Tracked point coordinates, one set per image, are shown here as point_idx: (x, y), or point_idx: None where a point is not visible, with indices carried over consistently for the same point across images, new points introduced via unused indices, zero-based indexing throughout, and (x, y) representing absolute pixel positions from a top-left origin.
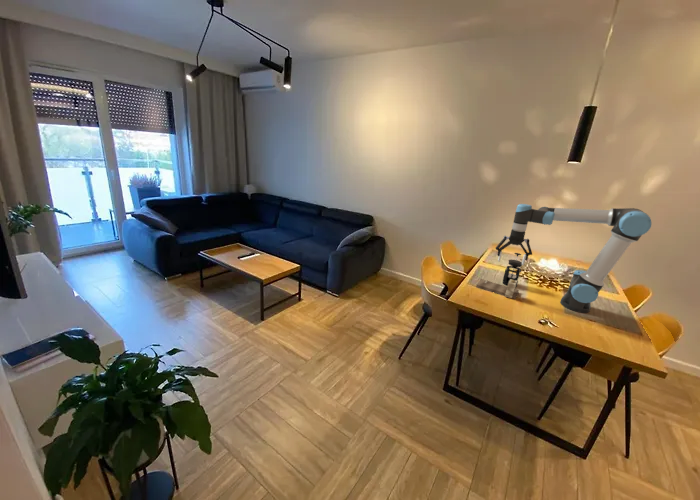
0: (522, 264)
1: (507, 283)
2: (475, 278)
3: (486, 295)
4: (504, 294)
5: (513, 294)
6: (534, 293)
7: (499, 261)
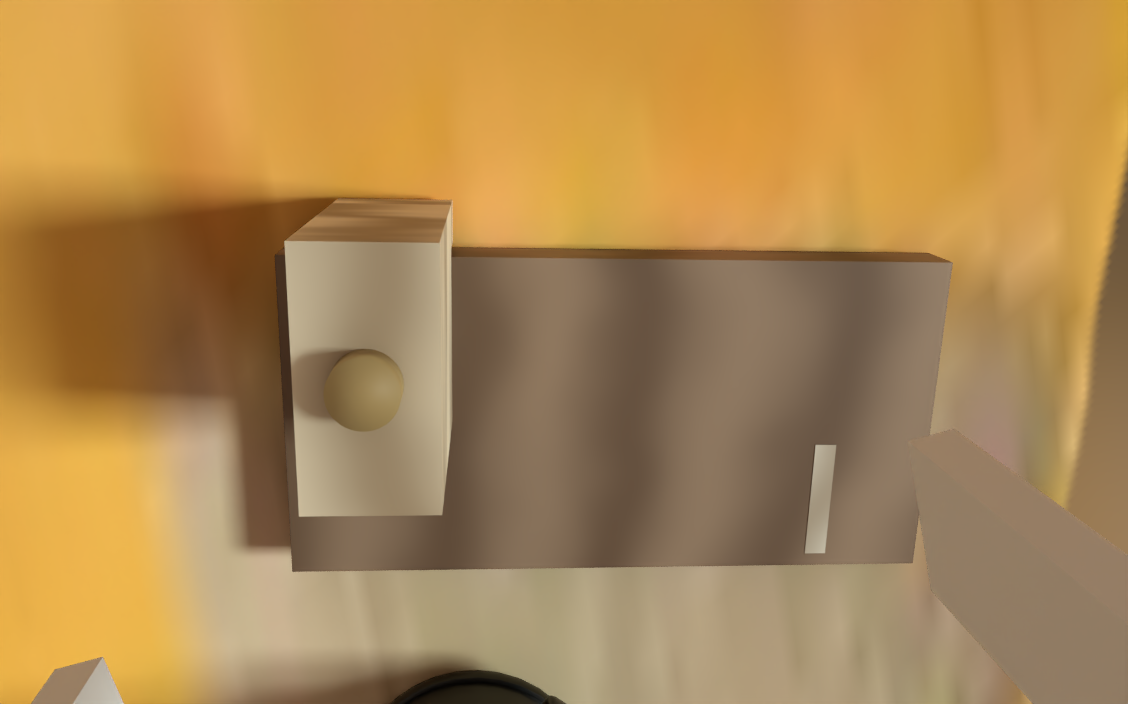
0: (100, 687)
1: (499, 701)
2: None
3: (725, 37)
4: (466, 251)
5: None
6: None
7: (916, 440)
